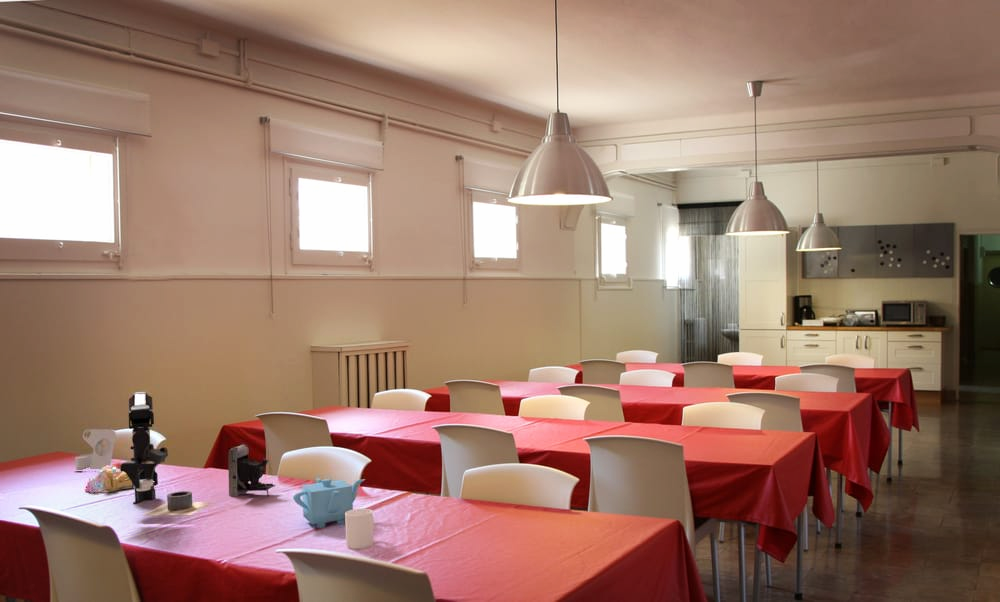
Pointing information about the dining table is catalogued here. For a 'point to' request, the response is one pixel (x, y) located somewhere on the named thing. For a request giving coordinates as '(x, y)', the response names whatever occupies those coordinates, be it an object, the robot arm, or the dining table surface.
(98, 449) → the phone holder
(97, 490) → the candy landscape model
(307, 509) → the teakettle
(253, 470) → the vintage camera
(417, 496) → the dining table surface
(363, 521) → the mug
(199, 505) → the mount board
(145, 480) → the beige mottled stone
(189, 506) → the ring
